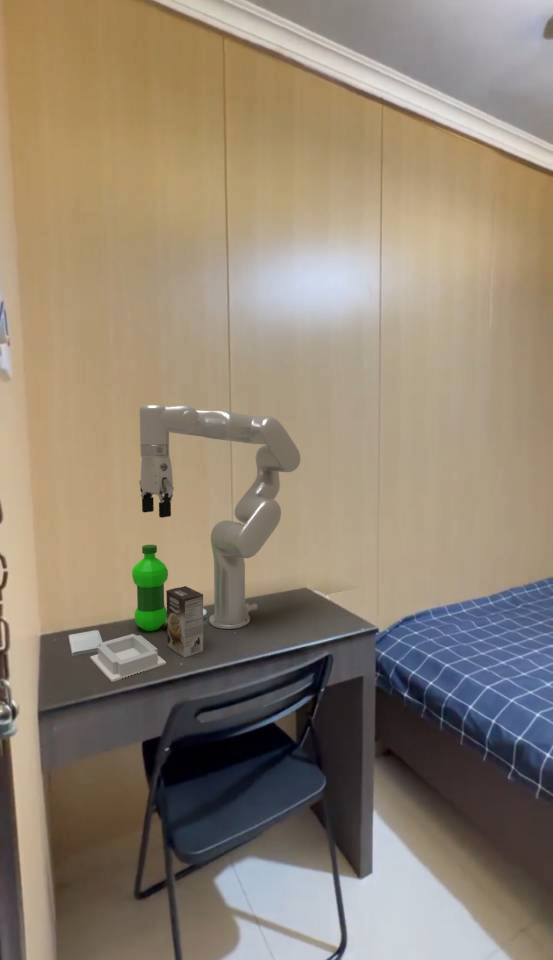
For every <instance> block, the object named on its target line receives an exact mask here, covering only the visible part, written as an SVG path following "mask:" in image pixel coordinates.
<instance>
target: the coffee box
mask: <svg viewBox="0 0 553 960" xmlns="http://www.w3.org/2000/svg"><path fill="white" fill-rule="evenodd" d="M165 592H166V593H165V594H166V610H167V620H166V633H167V634H166V635H167V637H166V638H167V643H166V644H167V647H168V648H169V649H171V650H172V651H174V652H175V653H176V654H178V655H180V657H182V658H187V657H190V656H193V655H196V654H200V653H201V652H204V594H203V593H202V592H199V591H197V590H195V589H193V588H191V587H189V586H186V585H183V586H180V587H175V588H171V589H168V590H166V591H165Z"/></svg>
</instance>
